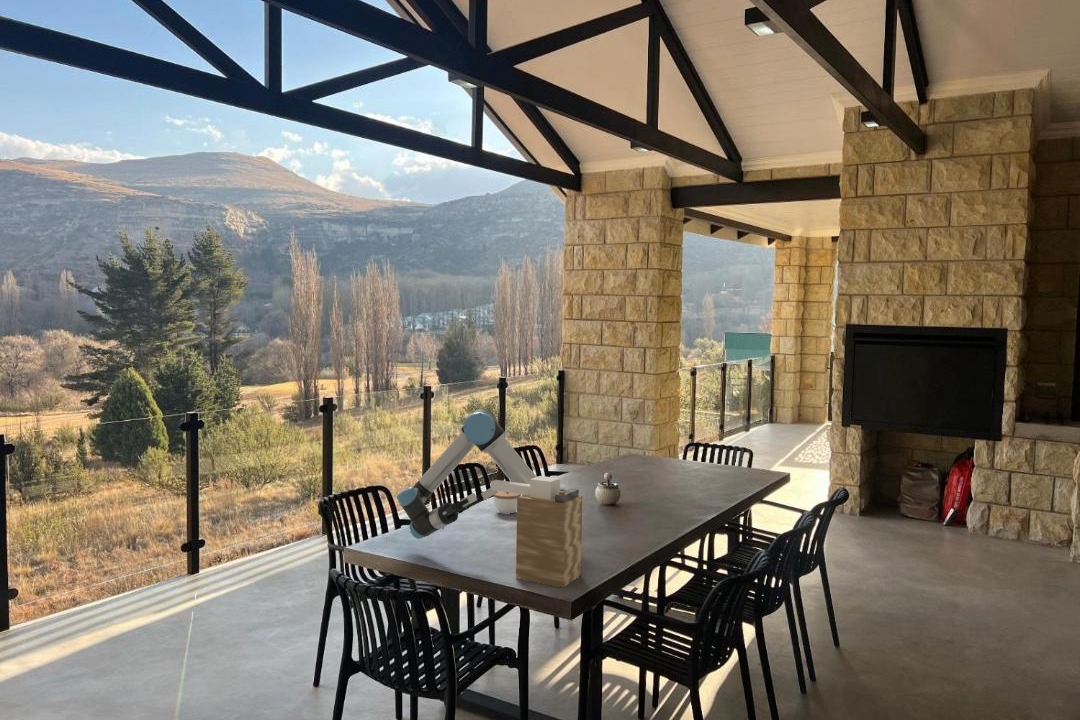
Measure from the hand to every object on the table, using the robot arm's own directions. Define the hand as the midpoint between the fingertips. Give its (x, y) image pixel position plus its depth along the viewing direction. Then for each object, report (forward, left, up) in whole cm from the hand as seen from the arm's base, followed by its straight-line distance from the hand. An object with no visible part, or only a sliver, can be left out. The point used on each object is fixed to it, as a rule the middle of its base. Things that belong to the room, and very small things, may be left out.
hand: (485, 492), depth 263 cm
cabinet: (0, +26, -26) cm, 37 cm away
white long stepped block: (0, +15, +2) cm, 15 cm away
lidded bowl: (-70, -33, -27) cm, 82 cm away
